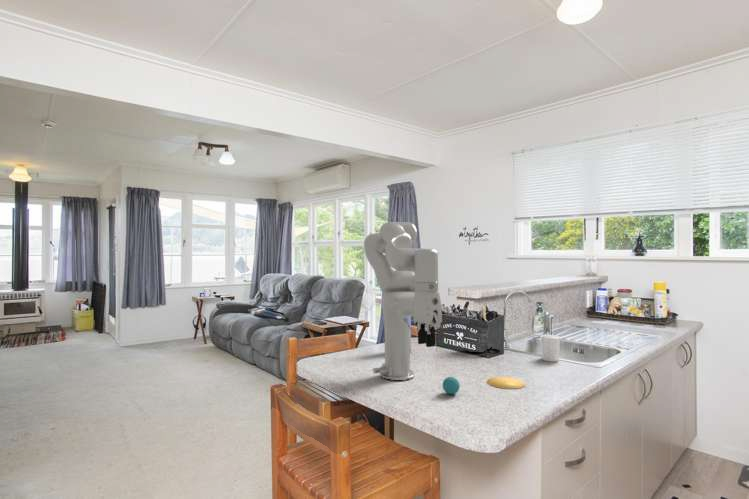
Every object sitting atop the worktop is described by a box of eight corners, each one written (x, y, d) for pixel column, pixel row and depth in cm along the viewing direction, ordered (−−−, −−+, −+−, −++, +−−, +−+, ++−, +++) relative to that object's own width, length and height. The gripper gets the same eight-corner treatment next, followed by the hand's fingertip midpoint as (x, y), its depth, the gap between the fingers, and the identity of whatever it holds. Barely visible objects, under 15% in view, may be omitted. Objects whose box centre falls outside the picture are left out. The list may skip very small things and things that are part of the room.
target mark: (505, 391, 138) (505, 390, 138) (479, 380, 150) (479, 380, 150) (533, 385, 144) (533, 384, 144) (506, 375, 156) (506, 375, 156)
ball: (449, 397, 133) (449, 380, 133) (439, 392, 137) (439, 376, 138) (463, 395, 135) (463, 378, 135) (452, 390, 140) (452, 373, 140)
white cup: (548, 362, 173) (548, 338, 174) (536, 357, 181) (536, 335, 181) (564, 361, 176) (564, 337, 176) (551, 356, 183) (551, 333, 183)
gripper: (451, 289, 126) (452, 349, 126) (421, 285, 141) (422, 338, 141) (431, 290, 123) (431, 352, 123) (402, 286, 138) (403, 341, 138)
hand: (426, 344), depth 132 cm, fingers open, 3 cm apart
